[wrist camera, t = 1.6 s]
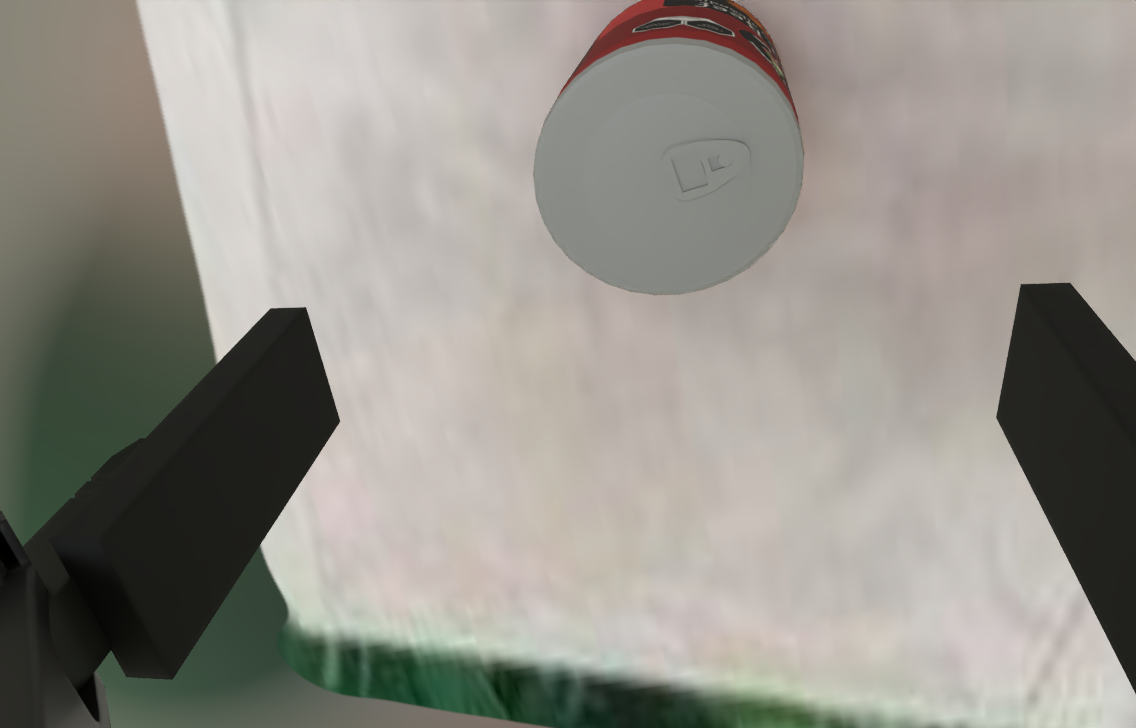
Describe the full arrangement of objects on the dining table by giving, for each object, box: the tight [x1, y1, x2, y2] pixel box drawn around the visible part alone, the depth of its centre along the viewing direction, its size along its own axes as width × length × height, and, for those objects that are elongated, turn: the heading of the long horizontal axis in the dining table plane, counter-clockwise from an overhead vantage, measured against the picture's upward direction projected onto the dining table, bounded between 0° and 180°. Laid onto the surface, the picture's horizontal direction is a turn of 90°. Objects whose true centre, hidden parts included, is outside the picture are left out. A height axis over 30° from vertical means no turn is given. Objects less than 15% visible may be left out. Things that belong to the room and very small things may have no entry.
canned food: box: [533, 0, 804, 295], centre depth 29 cm, size 8×8×11 cm
